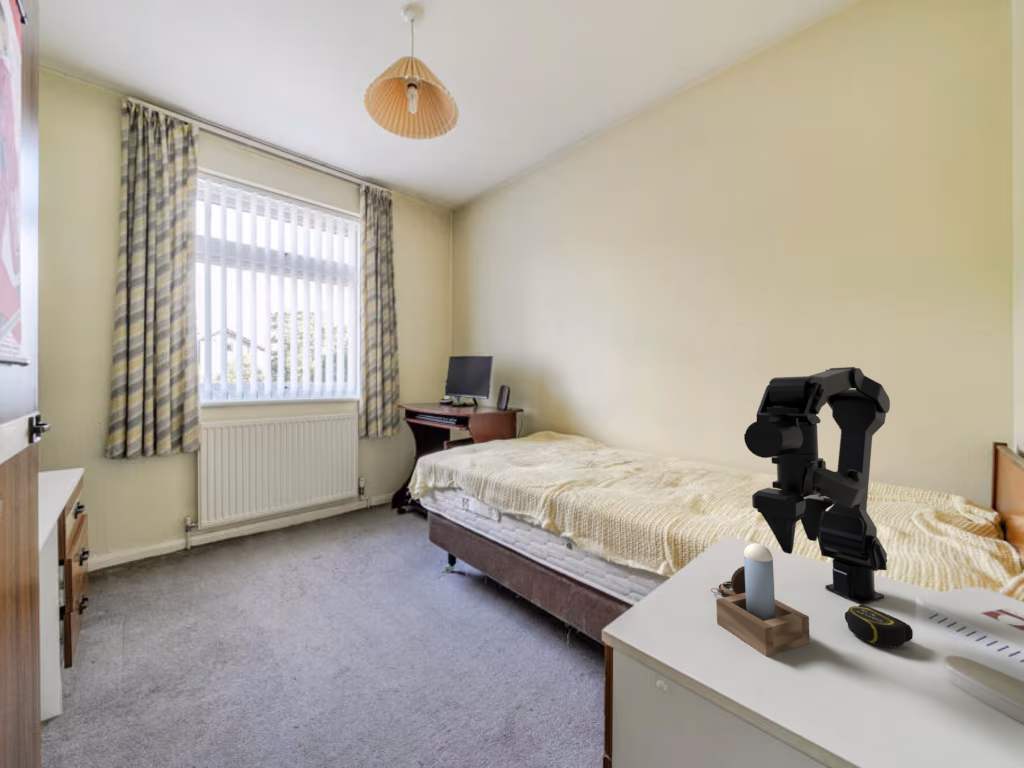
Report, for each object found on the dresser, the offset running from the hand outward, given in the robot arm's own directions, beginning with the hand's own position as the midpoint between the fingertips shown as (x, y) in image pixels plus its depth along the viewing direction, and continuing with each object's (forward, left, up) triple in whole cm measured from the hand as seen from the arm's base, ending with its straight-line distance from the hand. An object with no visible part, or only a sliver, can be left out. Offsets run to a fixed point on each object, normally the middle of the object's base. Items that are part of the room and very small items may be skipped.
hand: (800, 546), depth 67 cm
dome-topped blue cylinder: (+8, -1, -12) cm, 14 cm away
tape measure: (-8, +6, -13) cm, 16 cm away
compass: (+2, -11, -13) cm, 18 cm away
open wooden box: (+8, -1, -13) cm, 15 cm away
